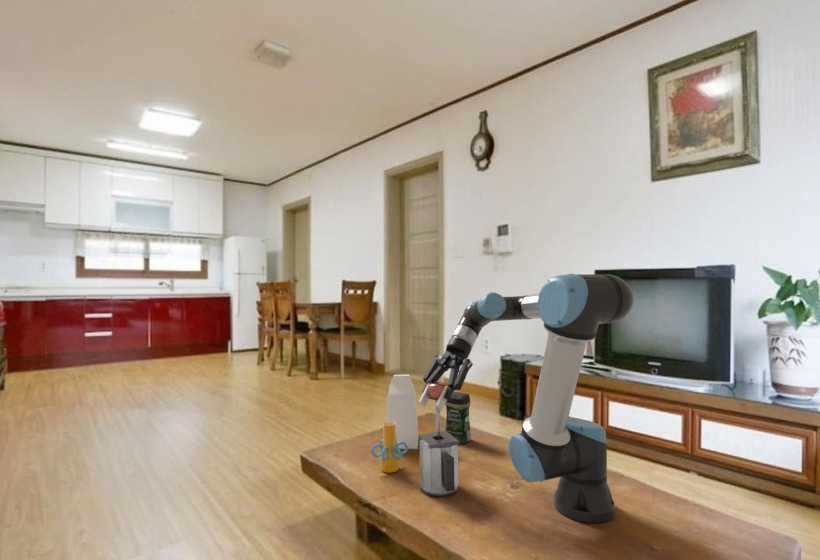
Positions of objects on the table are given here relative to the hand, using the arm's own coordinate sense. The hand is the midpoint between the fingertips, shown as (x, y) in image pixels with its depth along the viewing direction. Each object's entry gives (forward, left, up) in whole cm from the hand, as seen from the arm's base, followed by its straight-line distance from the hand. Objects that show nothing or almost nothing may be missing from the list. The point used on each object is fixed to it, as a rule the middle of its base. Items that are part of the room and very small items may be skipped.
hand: (430, 405), depth 126 cm
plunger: (+2, -3, -16) cm, 17 cm away
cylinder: (+20, +7, -26) cm, 33 cm away
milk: (+41, -4, -26) cm, 48 cm away
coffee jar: (+36, -25, -26) cm, 51 cm away
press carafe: (0, -3, -25) cm, 26 cm away
